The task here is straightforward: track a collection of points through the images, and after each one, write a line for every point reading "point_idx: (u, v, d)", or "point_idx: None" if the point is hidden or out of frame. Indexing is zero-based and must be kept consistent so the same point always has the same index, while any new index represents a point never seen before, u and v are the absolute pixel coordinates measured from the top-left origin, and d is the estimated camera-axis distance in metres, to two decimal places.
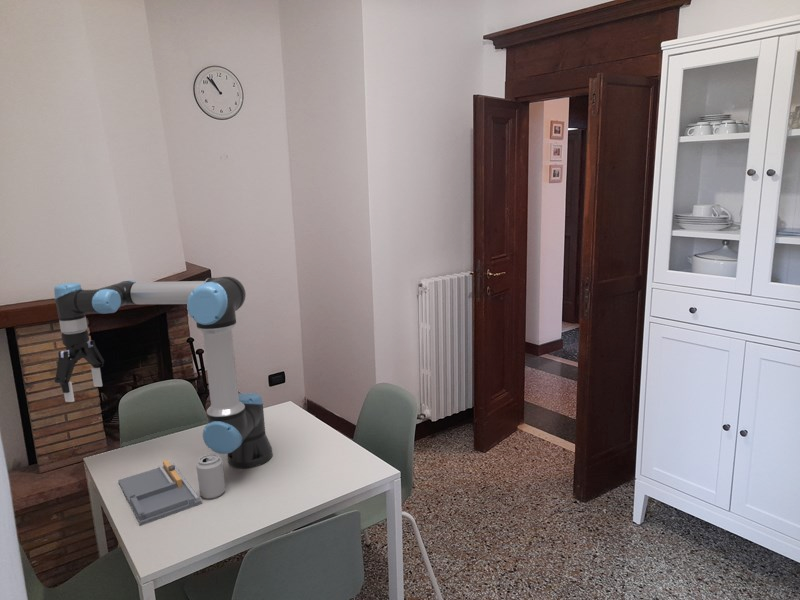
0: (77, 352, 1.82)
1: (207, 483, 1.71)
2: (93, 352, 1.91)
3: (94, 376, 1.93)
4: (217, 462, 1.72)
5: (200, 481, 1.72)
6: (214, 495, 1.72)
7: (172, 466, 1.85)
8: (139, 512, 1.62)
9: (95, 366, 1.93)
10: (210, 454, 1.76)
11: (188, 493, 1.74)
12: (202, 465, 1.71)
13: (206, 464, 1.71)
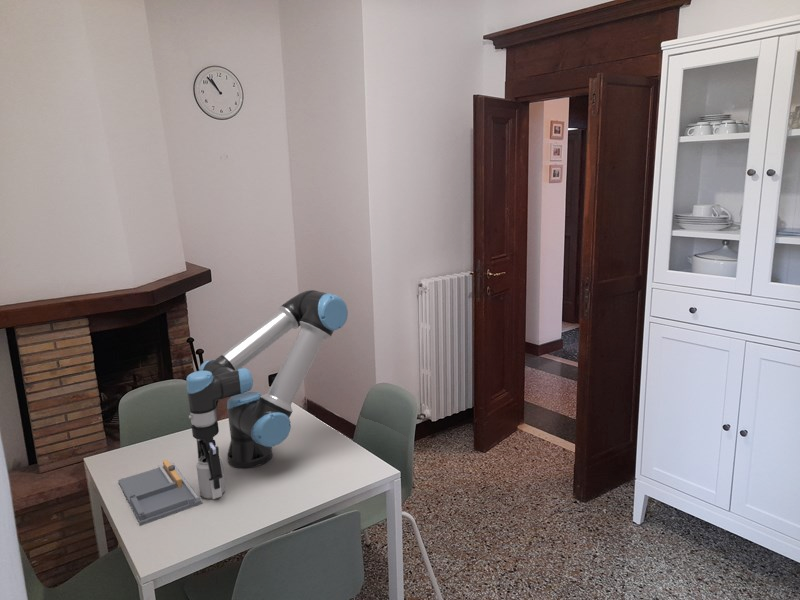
0: (213, 443, 1.72)
1: (207, 483, 1.71)
2: None
3: None
4: None
5: (200, 481, 1.72)
6: None
7: (172, 466, 1.85)
8: (139, 512, 1.62)
9: None
10: None
11: (188, 493, 1.74)
12: (202, 465, 1.71)
13: (206, 464, 1.70)
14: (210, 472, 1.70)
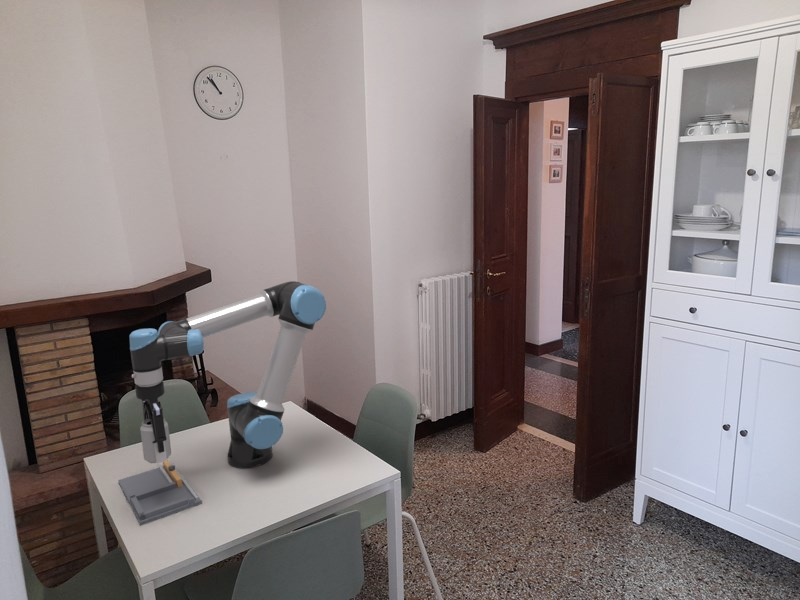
0: (158, 405, 1.64)
1: (151, 446, 1.63)
2: None
3: None
4: None
5: (144, 444, 1.64)
6: None
7: (172, 466, 1.85)
8: (139, 512, 1.62)
9: None
10: None
11: (188, 493, 1.74)
12: (146, 427, 1.63)
13: (150, 426, 1.63)
14: (154, 434, 1.62)
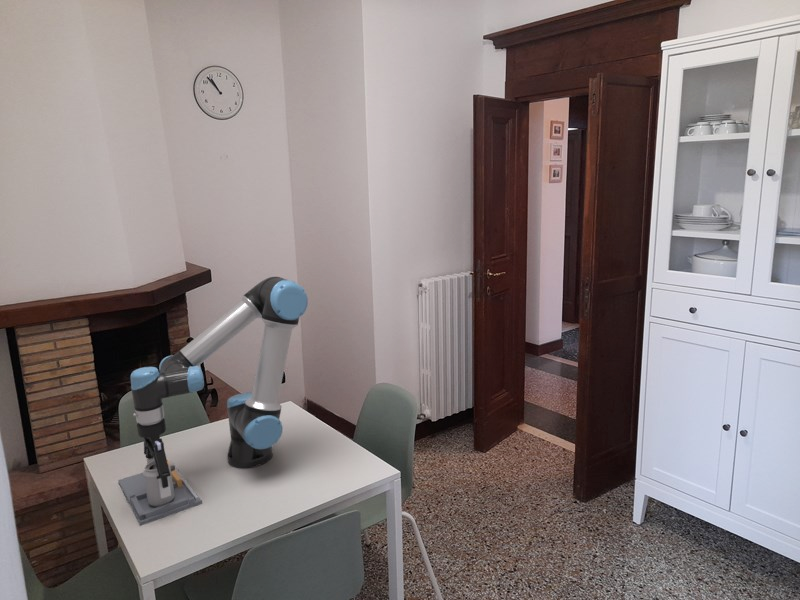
0: (160, 441, 1.66)
1: (154, 490, 1.66)
2: None
3: None
4: None
5: (147, 489, 1.66)
6: (162, 503, 1.67)
7: (172, 466, 1.85)
8: (139, 512, 1.62)
9: (150, 457, 1.74)
10: None
11: (188, 493, 1.74)
12: (148, 472, 1.65)
13: (152, 471, 1.65)
14: (157, 470, 1.62)
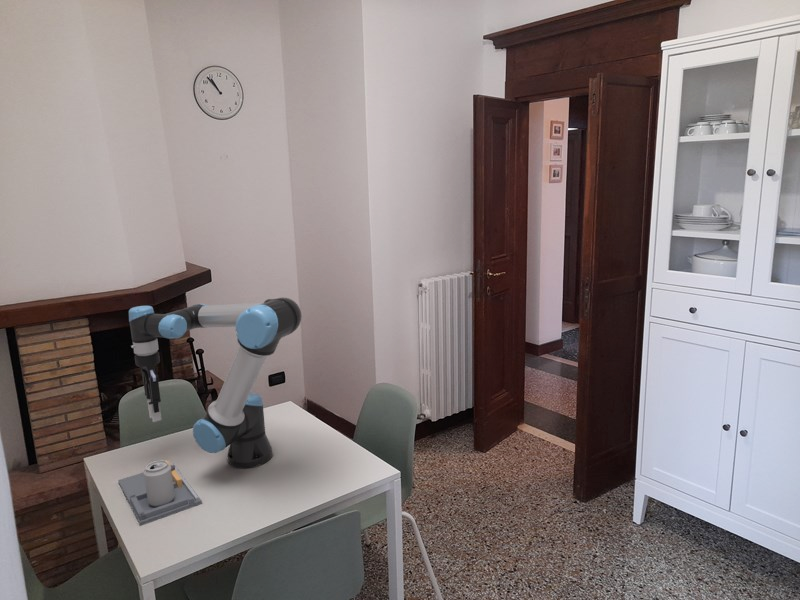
0: (155, 372, 1.89)
1: (155, 490, 1.66)
2: None
3: (151, 407, 1.93)
4: (165, 469, 1.67)
5: (147, 489, 1.67)
6: (162, 503, 1.67)
7: (172, 466, 1.85)
8: (139, 512, 1.62)
9: None
10: (159, 461, 1.71)
11: (188, 493, 1.74)
12: (149, 472, 1.66)
13: (153, 471, 1.65)
14: (150, 397, 1.89)
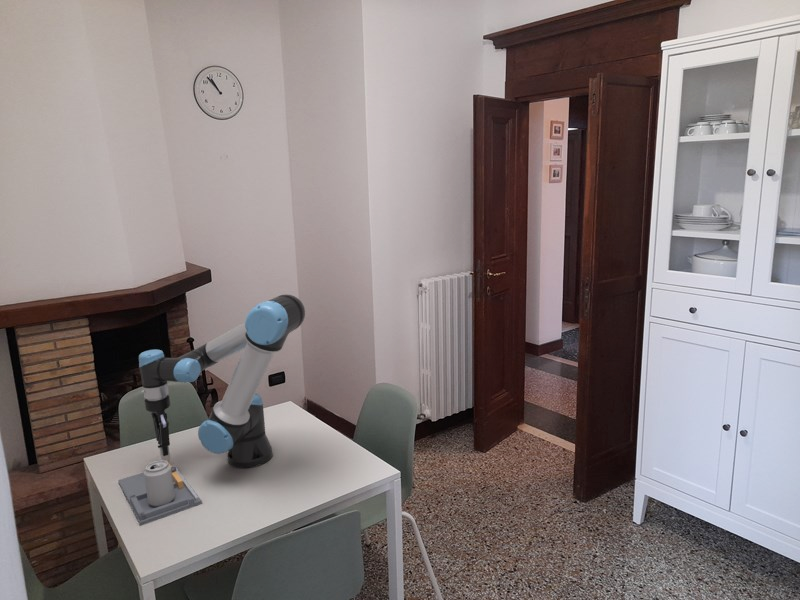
0: (165, 416, 1.87)
1: (155, 490, 1.66)
2: None
3: (162, 453, 1.90)
4: (165, 469, 1.67)
5: (147, 489, 1.67)
6: (162, 503, 1.67)
7: (173, 468, 1.84)
8: (139, 512, 1.62)
9: None
10: (159, 461, 1.71)
11: (188, 493, 1.74)
12: (149, 472, 1.66)
13: (153, 471, 1.65)
14: (159, 440, 1.88)
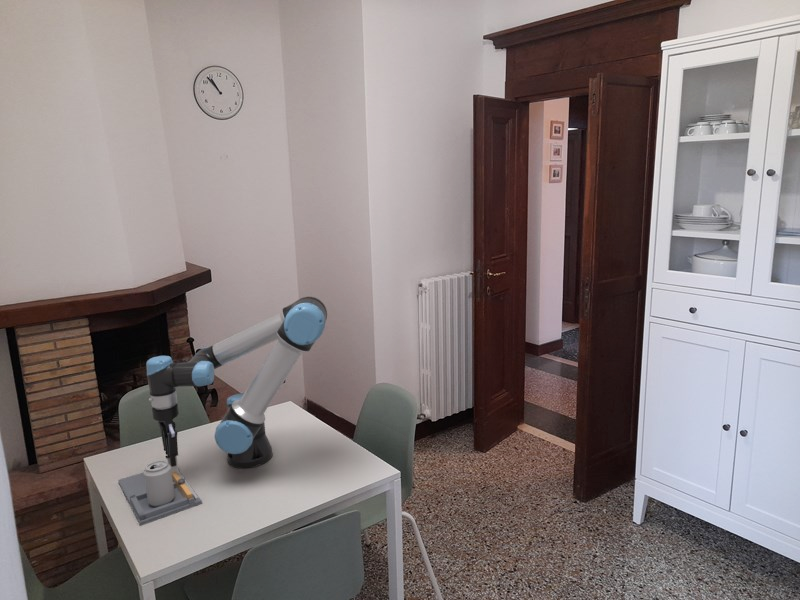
0: (173, 426, 1.79)
1: (155, 490, 1.66)
2: None
3: None
4: (165, 469, 1.67)
5: (147, 489, 1.67)
6: (162, 503, 1.67)
7: (182, 479, 1.76)
8: (139, 512, 1.62)
9: None
10: (159, 461, 1.71)
11: None
12: (149, 472, 1.66)
13: (153, 471, 1.65)
14: (167, 451, 1.80)
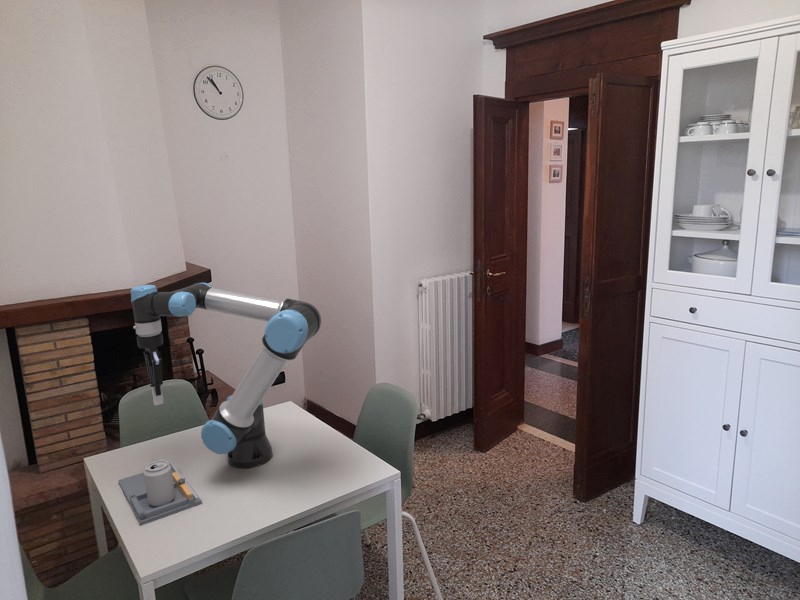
0: (158, 354, 1.81)
1: (155, 490, 1.66)
2: None
3: None
4: (165, 469, 1.67)
5: (147, 489, 1.67)
6: (162, 503, 1.67)
7: (182, 479, 1.76)
8: (139, 512, 1.62)
9: None
10: (159, 461, 1.71)
11: None
12: (149, 472, 1.66)
13: (153, 471, 1.65)
14: (152, 379, 1.82)
